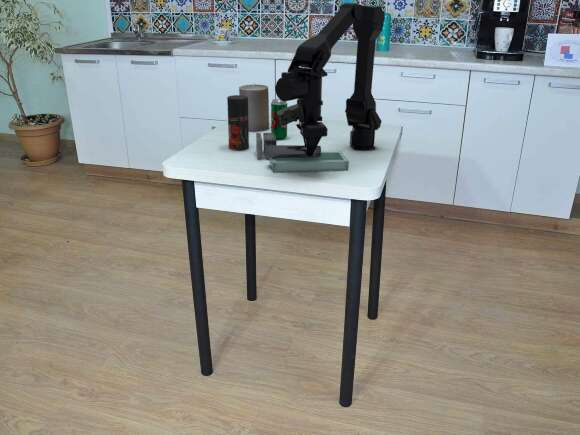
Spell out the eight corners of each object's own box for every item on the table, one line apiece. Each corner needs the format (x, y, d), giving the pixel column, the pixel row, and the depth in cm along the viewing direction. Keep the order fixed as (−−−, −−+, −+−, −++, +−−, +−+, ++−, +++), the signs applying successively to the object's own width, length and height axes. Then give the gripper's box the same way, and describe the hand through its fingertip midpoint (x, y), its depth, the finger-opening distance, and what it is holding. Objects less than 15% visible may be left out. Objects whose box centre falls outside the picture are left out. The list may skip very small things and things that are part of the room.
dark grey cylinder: (318, 155, 149) (319, 143, 148) (320, 160, 146) (321, 147, 145) (267, 155, 148) (267, 143, 146) (268, 159, 145) (268, 147, 143)
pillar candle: (268, 124, 189) (268, 80, 183) (269, 131, 180) (268, 85, 174) (240, 125, 189) (238, 80, 183) (239, 132, 180) (238, 85, 174)
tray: (341, 159, 153) (341, 151, 152) (348, 170, 145) (348, 161, 144) (269, 161, 151) (269, 153, 150) (272, 172, 143) (272, 163, 142)
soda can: (285, 140, 171) (285, 102, 166) (269, 139, 172) (269, 101, 167) (288, 136, 175) (289, 98, 171) (273, 135, 176) (273, 97, 171)
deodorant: (253, 148, 163) (252, 97, 157) (238, 152, 159) (236, 100, 153) (239, 144, 167) (238, 94, 161) (224, 147, 163) (222, 97, 157)
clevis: (273, 151, 160) (273, 132, 158) (276, 159, 153) (276, 140, 151) (256, 151, 160) (256, 132, 158) (258, 159, 153) (257, 140, 150)
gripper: (275, 89, 148) (275, 145, 155) (283, 103, 131) (282, 166, 138) (316, 88, 150) (314, 144, 156) (329, 103, 133) (326, 164, 139)
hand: (308, 154), depth 147 cm, fingers closed on dark grey cylinder, 3 cm apart
